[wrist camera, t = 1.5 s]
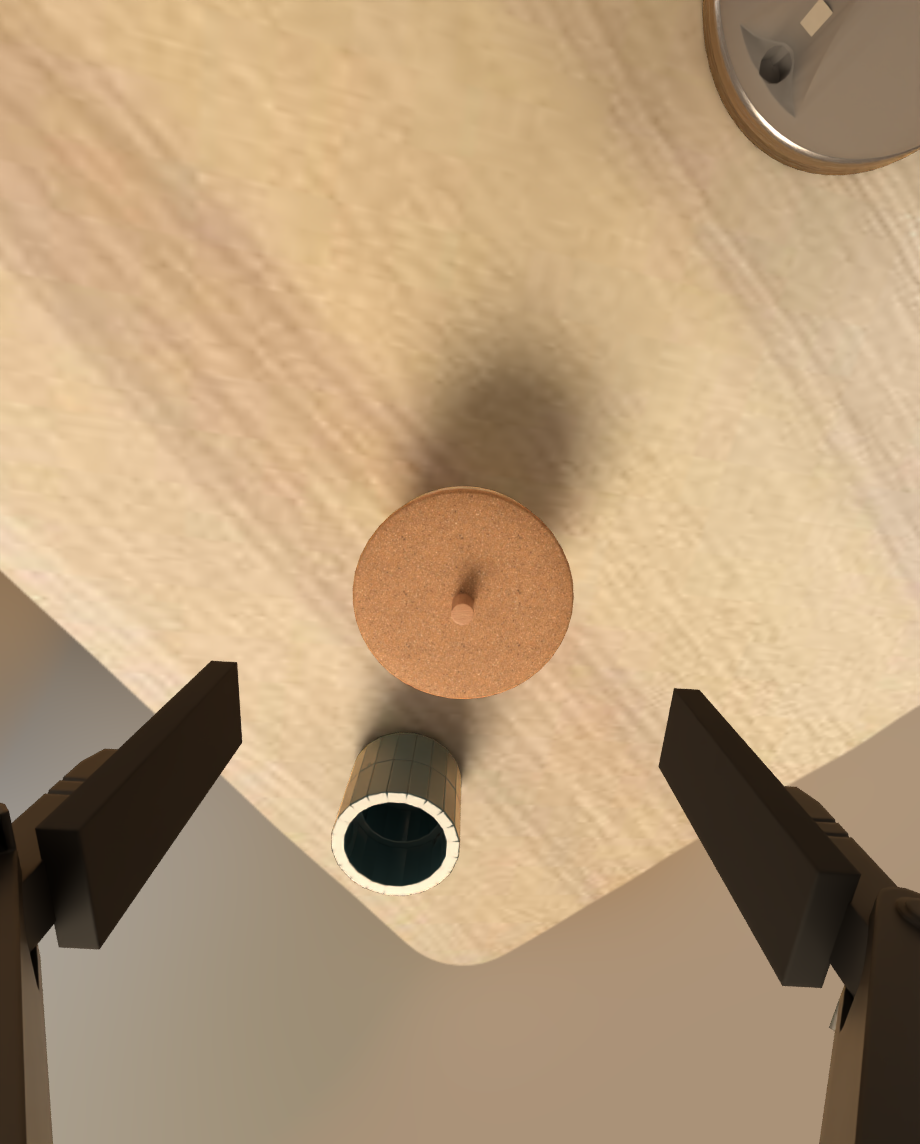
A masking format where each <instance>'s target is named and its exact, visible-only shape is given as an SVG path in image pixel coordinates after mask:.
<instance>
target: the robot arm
mask: <svg viewBox="0 0 920 1144" xmlns="http://www.w3.org/2000/svg"><path fill="white" fill-rule="evenodd" d="M703 31H704V39H705V47H706V53H707V58H708V62H709V67H710V70H711V73H712V77H713V80H714V83H715V86H716V88H717V91H718V93H719V95H720V98H721V100H722V102H723V104H724V106H725V107H726V109H727V111H728V113H729V115H730V116H731V118H732V119H733V120H734V122H735V123H736V125H737V126H738V128H739V129H740V130H741V131H742V132H743V133H744V134H745V136H746V137H747V138H748V139H749V140H750V141H751V142H752V143H753V144H755V145H756V146H757V147H758V148H759V149H760V150H762V151H763V152H764V153H766V154H767V155H769V156H770V157H771V158H773V159H775V160H777V161H779V162H781V163H783V164H784V165H787V166H790V167H792V168H795V169H797V170H801V171H805V172H809V173H814V174H822V175H848V174H857V173H862V172H866V171H871V170H874V169H877V168H880V167H884V166H887V165H889V164H891V163H894V162H896V161H898V160H901V159H903V158H905V157H907V156H908V155H910V154H912V153H914V152H916V151H917V150H919V149H920V0H703ZM241 743H242V732H241V716H240V700H239V685H238V669H237V662H222V661H211V662H210V663H209V664H208V665H206V666H205V667H204V668H203V669H202V670H201V671H200V672H199V673H198V674H197V675H196V676H195V677H194V678H193V679H192V680H191V681H190V682H189V683H188V684H186V685H185V686H184V687H183V688H182V689H181V690H180V691H179V692H178V693H177V694H176V695H175V696H174V697H173V698H172V699H171V700H170V701H169V702H167V703H166V704H165V705H164V706H163V707H162V708H161V709H160V710H159V711H158V712H157V713H156V714H155V715H154V716H153V717H152V718H151V719H150V720H149V721H148V722H146V723H145V724H144V725H143V726H142V727H141V728H140V729H139V730H138V731H137V732H136V733H135V734H134V735H133V736H132V737H131V738H130V739H129V740H128V741H126V742H125V743H124V744H123V745H122V746H121V747H120V748H119V749H103V750H102V751H100V752H98V753H96V754H94V755H92V756H90V757H89V758H87V759H85V760H83V761H81V762H80V763H79V764H78V765H77V766H75V767H74V768H73V769H72V770H71V771H70V772H69V773H68V774H66V776H64V777H63V780H62V781H61V780H60V781H59V782H58V783H56V784H55V785H54V786H53V787H52V788H51V789H50V790H49V792H48V794H44V795H43V796H42V797H41V798H40V799H38V800H37V801H36V802H35V803H34V804H33V805H32V806H30V807H29V808H28V809H27V810H26V811H25V812H24V813H23V814H21V815H20V816H19V817H18V818H17V819H16V820H15V821H14V822H13V823H11V819H10V814H9V811H8V809H7V807H6V805H5V804H3V803H0V1144H53V1139H52V1123H51V1111H50V1110H51V1109H50V1094H49V1078H48V1064H47V1051H46V1050H47V1049H46V1034H45V1019H44V1005H43V989H42V975H41V960H40V954H39V949H38V943H39V942H40V940H41V939H42V938H43V936H44V935H45V934H46V933H47V932H48V931H49V929H50V928H51V927H52V926H53V924H54V925H55V930H56V935H57V940H58V945H59V947H63V948H84V949H100V948H101V946H102V945H103V943H104V942H105V941H106V939H107V938H108V936H109V935H110V933H111V932H112V930H113V929H114V927H115V926H116V925H117V923H118V921H119V920H120V919H121V917H122V916H123V914H124V913H125V912H126V910H127V908H128V907H129V906H130V904H131V903H132V901H133V900H134V899H135V897H136V896H137V894H138V893H139V891H140V890H141V888H142V887H143V885H144V884H145V883H146V881H147V880H148V878H149V877H150V875H151V874H152V872H153V871H154V869H155V868H156V867H157V865H158V864H159V862H160V861H161V859H162V858H163V856H164V855H165V854H166V852H167V851H168V849H169V848H170V846H171V845H172V843H173V842H174V840H175V839H176V838H177V836H178V835H179V833H180V832H181V830H182V829H183V827H184V826H185V825H186V823H187V822H188V820H189V819H190V817H191V816H192V814H193V813H194V812H195V810H196V809H197V807H198V806H199V804H200V803H201V801H202V800H203V799H204V797H205V795H206V794H207V793H208V791H209V790H210V788H211V787H212V785H213V784H214V783H215V781H216V780H217V778H218V777H219V775H220V774H221V772H222V771H223V770H224V768H225V767H226V765H227V764H228V762H229V761H230V759H231V758H232V756H233V755H234V754H235V752H236V751H237V749H238V748H239V746H240V745H241ZM659 768H660V770H661V772H662V773H663V775H664V777H665V779H666V781H667V782H668V784H669V786H670V788H671V789H672V791H673V793H674V795H675V796H676V798H677V800H678V802H679V804H680V805H681V807H682V809H683V811H684V812H685V814H686V816H687V818H688V819H689V821H690V823H691V825H692V827H693V828H694V830H695V832H696V834H697V835H698V837H699V839H700V841H701V842H702V844H703V846H704V848H705V850H706V851H707V853H708V855H709V856H710V858H711V860H712V862H713V864H714V865H715V867H716V869H717V871H718V873H719V874H720V876H721V878H722V880H723V881H724V883H725V885H726V887H727V888H728V890H729V892H730V894H731V895H732V897H733V899H734V901H735V903H736V904H737V906H738V908H739V910H740V911H741V913H742V915H743V917H744V919H745V920H746V922H747V924H748V926H749V927H750V929H751V931H752V933H753V934H754V936H755V938H756V940H757V941H758V943H759V945H760V947H761V948H762V950H763V952H764V954H765V956H766V957H767V959H768V961H769V963H770V965H771V966H772V968H773V970H774V972H775V973H776V975H777V977H778V979H779V980H780V982H781V984H782V986H796V987H815V988H822V986H823V983H824V980H825V977H826V974H827V971H828V968H829V966H830V964H831V965H832V967H833V968H834V970H835V971H836V973H837V974H838V976H839V977H840V978H841V980H842V982H843V983H844V988H843V991H842V993H841V996H840V999H839V1001H838V1004H837V1007H836V1010H835V1012H834V1015H833V1018H832V1021H831V1023H830V1026H829V1028H830V1029H832V1030H834V1031H835V1035H834V1042H833V1049H832V1056H831V1064H830V1071H829V1079H828V1085H827V1093H826V1099H825V1106H824V1113H823V1121H822V1128H821V1135H820V1142H819V1144H920V894H919V893H917V892H914V891H911V890H909V889H906V888H900V887H897V886H896V884H895V883H894V882H893V881H892V880H891V879H890V878H889V877H888V876H887V875H886V874H885V873H884V872H883V870H882V869H881V868H879V866H878V865H877V864H876V863H875V862H874V861H873V860H872V859H871V858H870V857H869V856H868V855H867V853H866V852H865V851H864V850H863V849H862V848H861V847H860V846H859V845H858V844H857V843H856V842H855V840H854V839H853V838H851V837H849V836H848V833H847V832H846V831H845V830H844V829H843V828H842V827H841V826H840V824H839V823H836V822H835V819H834V818H833V817H832V816H831V815H830V814H829V813H828V812H827V810H826V809H825V808H823V806H822V805H821V804H820V803H819V802H818V801H816V800H815V799H813V798H812V797H810V796H809V795H808V794H806V793H805V792H803V791H802V790H800V789H799V788H797V787H788V786H783V785H782V783H781V782H780V781H779V780H778V779H777V778H776V777H775V776H774V774H773V773H772V772H771V771H770V770H769V769H768V768H767V766H766V765H765V764H764V763H763V762H762V761H761V760H760V758H759V757H758V756H757V755H756V754H755V753H754V752H753V750H752V749H751V748H750V747H749V746H748V745H747V744H746V742H745V741H744V740H743V739H742V738H741V737H740V736H739V735H738V733H737V732H736V731H735V730H734V729H733V728H732V727H731V725H730V724H729V723H728V722H727V721H726V720H725V719H724V717H723V716H722V715H721V714H720V713H719V712H718V711H717V709H716V708H715V707H714V706H713V705H712V704H711V703H710V701H709V700H708V699H707V698H706V697H705V696H704V695H703V694H702V692H701V691H700V690H694V689H677V688H674V691H673V696H672V701H671V706H670V711H669V716H668V721H667V726H666V732H665V737H664V742H663V747H662V752H661V757H660V762H659Z"/></svg>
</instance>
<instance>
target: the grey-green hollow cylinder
mask: <svg viewBox="0 0 920 1144" xmlns="http://www.w3.org/2000/svg"><path fill="white" fill-rule="evenodd" d="M460 811H461V774H460V771H459V768H458V764H457V762H456V760H455V759H454V757H453V756H452V755H451V753H450V752H449V751H448V750H447V748H445V747H444V746H443V745H441V744H440V743H439V742H437V741H436V740H434V739H432V738H429V737H426V736H423V735H420V734H417V733H403V732H400V733H399V732H398V733H394V734H389V735H385V736H382V737H380V738H378V739H376V740H374V741H373V742H371V743H369V744H368V745H367V746H366V747H365V748H364V749H363V750H362V751H361V753H360V754H359V755H358V757H357V759H356V761H355V764H354V766H353V769H352V772H351V775H350V778H349V781H348V784H347V787H346V790H345V793H344V797H343V799H342V802H341V805H340V808H339V811H338V814H337V817H336V821H335V824H334V827H333V830H332V833H331V842H332V852H333V854H334V857H335V859H336V862H337V864H338V865H339V867H340V868H341V869H342V870H343V871H344V873H345V874H346V875H347V876H348V877H349V878H350V879H351V880H352V881H354V882H355V883H357V884H359V885H360V886H362V887H363V888H366V889H368V890H371V891H374V892H378V893H381V894H384V895H395V896H403V895H404V896H406V895H411V894H417V893H422V892H424V891H426V890H428V889H430V888H432V887H434V886H436V885H438V884H440V883H441V882H442V881H443V880H444V879H445V878H446V877H447V876H448V875H449V874H450V873H451V872H452V870H453V868H454V866H455V864H456V862H457V860H458V857H459V848H460Z"/></svg>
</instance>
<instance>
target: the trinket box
mask: <svg viewBox="0 0 920 1144" xmlns="http://www.w3.org/2000/svg"><path fill="white" fill-rule="evenodd" d="M573 598H574V595H573V580H572V576H571V572H570V567H569V564H568V561H567V559H566V556H565V554H564V552H563V549H562V548H561V546H560V544H559V543H558V541H557V540H556V538H555V536H554V535H553V533H552V532H551V531H550V530H549V529H548V528H547V526H546V525H545V524H544V523H543V522H542V521H541V520H540V519H539V518H538V517H537V516H536V515H534V514H533V513H532V512H531V511H529V510H528V509H527V508H526V507H524V506H522V505H521V504H520V503H518V502H517V501H515V500H513V499H511V498H510V497H508V496H506V495H503V494H501V493H498V492H495V491H493V490H489V489H484V488H479V487H468V486H456V487H448V488H442V489H438V490H435V491H431V492H428V493H426V494H423V495H421V496H419V497H417V498H415V499H413V500H412V501H410V502H409V503H407V504H405V505H404V506H402V507H401V508H399V509H398V510H397V511H395V512H394V513H392V514H391V515H390V516H389V517H388V518H387V519H386V520H385V521H384V522H383V523H382V524H381V525H380V526H379V527H378V529H377V530H376V531H375V533H374V534H373V535H372V536H371V538H370V539H369V541H368V542H367V544H366V546H365V548H364V550H363V552H362V554H361V556H360V559H359V562H358V565H357V568H356V571H355V577H354V584H353V606H354V612H355V617H356V621H357V624H358V627H359V630H360V632H361V635H362V637H363V639H364V641H365V643H366V644H367V646H368V648H369V650H370V651H371V652H372V654H373V655H374V656H375V657H376V659H377V660H378V661H379V663H380V664H382V665H383V666H384V667H385V668H386V669H387V670H388V671H389V672H390V673H391V674H392V675H394V676H395V677H397V678H398V679H400V680H401V681H402V682H404V683H406V684H408V685H410V686H412V687H414V688H416V689H418V690H420V691H423V692H426V693H429V694H432V695H435V696H441V697H446V698H455V699H472V698H482V697H487V696H491V695H495V694H499V693H501V692H504V691H506V690H509V689H511V688H514V687H516V686H517V685H519V684H521V683H523V682H524V681H526V680H528V679H529V678H530V677H532V676H533V675H534V674H535V673H537V672H538V671H539V670H540V669H541V668H542V667H543V666H544V665H545V664H546V663H547V662H548V661H549V660H550V659H551V658H552V656H553V655H554V653H555V652H556V650H557V649H558V647H559V646H560V644H561V642H562V640H563V638H564V636H565V634H566V631H567V629H568V626H569V622H570V619H571V615H572V608H573Z"/></svg>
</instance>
